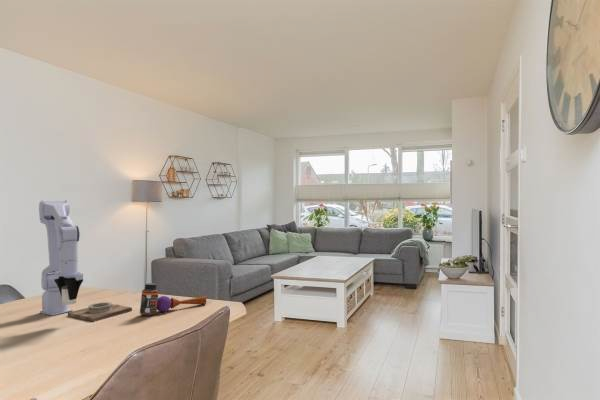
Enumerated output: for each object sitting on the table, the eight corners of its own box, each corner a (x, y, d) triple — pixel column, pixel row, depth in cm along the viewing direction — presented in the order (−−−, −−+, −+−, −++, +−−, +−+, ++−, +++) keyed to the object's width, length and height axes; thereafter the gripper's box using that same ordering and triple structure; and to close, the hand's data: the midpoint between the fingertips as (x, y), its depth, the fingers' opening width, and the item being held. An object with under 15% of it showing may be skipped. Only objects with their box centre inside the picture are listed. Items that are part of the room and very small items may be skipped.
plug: (59, 303, 139) (58, 286, 139) (71, 301, 143) (71, 284, 143) (66, 305, 137) (65, 288, 137) (78, 302, 141) (78, 285, 141)
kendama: (208, 296, 161) (158, 300, 149) (206, 310, 161) (156, 315, 150) (203, 290, 166) (154, 294, 154) (201, 304, 166) (152, 308, 154)
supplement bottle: (150, 316, 145) (153, 285, 146) (136, 314, 147) (139, 284, 148) (159, 313, 151) (162, 283, 152) (145, 311, 153) (148, 282, 154)
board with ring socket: (67, 315, 150) (67, 307, 150) (106, 305, 164) (106, 298, 164) (93, 321, 142) (92, 312, 142) (131, 310, 156) (131, 302, 156)
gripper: (45, 260, 140) (46, 298, 140) (68, 263, 133) (68, 303, 133) (65, 257, 146) (66, 294, 146) (88, 260, 139) (89, 298, 139)
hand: (69, 298), depth 140 cm, fingers closed on plug, 4 cm apart
